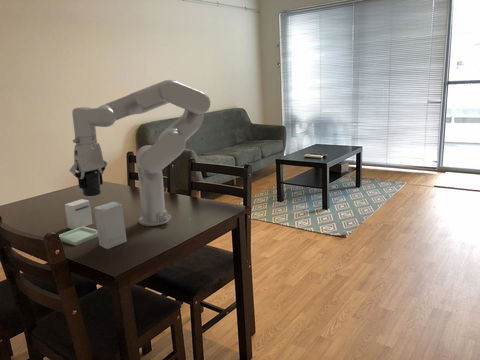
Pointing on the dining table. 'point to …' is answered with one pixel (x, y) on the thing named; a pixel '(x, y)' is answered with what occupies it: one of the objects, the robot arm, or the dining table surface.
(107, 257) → the dining table surface
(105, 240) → the skincare box
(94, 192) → the supplement bottle
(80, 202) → the unit
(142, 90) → the robot arm
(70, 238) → the tray
